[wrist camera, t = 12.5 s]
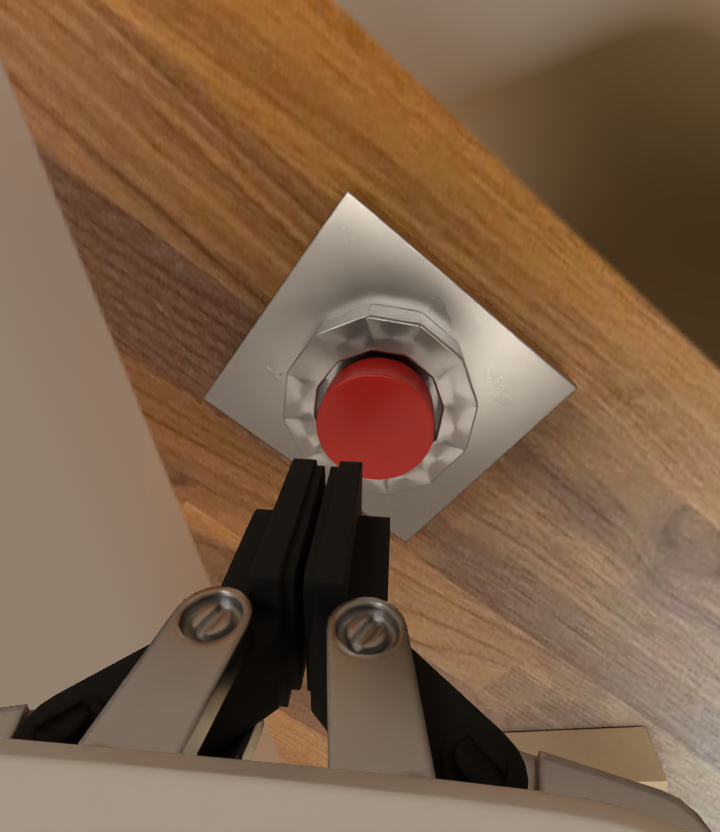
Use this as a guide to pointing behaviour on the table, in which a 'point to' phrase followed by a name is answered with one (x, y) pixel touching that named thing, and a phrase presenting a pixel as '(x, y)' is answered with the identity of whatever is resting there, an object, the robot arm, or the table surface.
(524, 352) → the button housing
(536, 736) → the beige lever switch base
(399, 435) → the button
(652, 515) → the table surface
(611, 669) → the table surface
